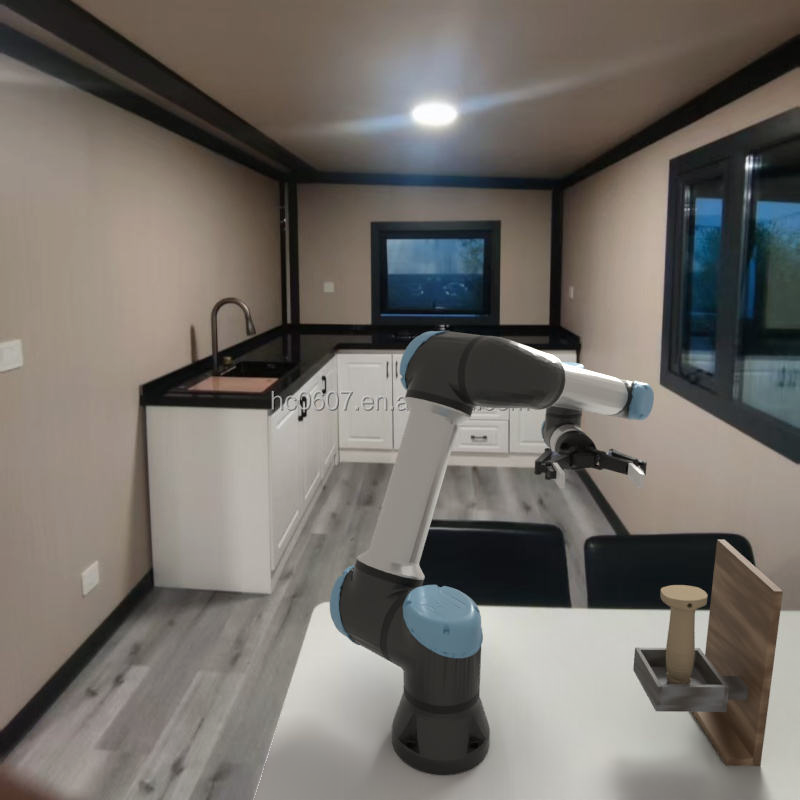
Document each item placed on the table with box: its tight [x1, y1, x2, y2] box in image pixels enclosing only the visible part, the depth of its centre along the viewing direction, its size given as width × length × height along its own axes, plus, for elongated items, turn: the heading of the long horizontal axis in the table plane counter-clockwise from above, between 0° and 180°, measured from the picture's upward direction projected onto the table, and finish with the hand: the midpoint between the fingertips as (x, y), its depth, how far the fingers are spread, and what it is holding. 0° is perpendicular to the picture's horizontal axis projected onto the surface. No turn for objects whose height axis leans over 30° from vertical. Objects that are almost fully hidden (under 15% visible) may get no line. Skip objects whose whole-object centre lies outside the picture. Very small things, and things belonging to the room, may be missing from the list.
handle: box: [660, 584, 709, 685], centre depth 104 cm, size 5×6×15 cm
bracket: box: [632, 539, 784, 767], centre depth 108 cm, size 16×18×28 cm
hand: (602, 481), depth 118 cm, fingers open, 13 cm apart
